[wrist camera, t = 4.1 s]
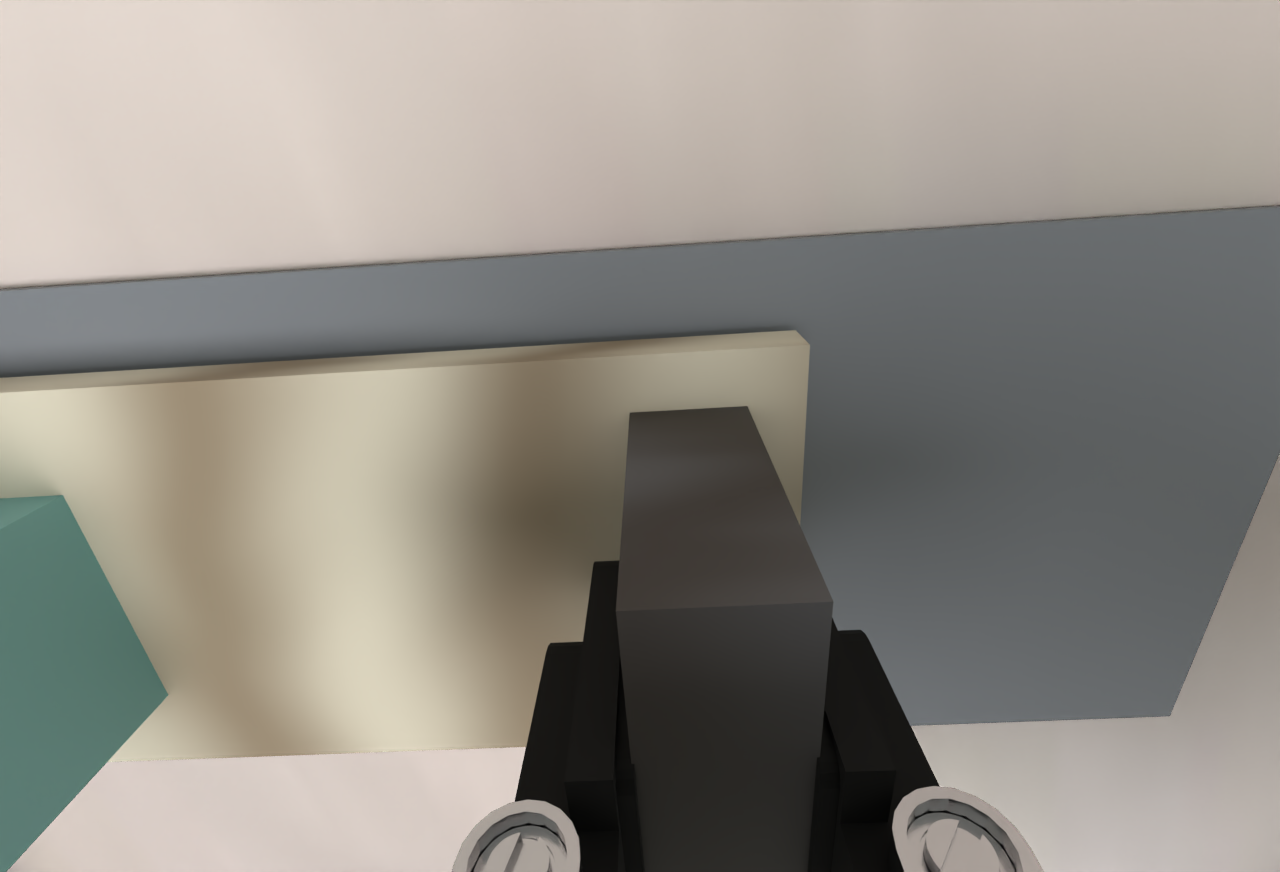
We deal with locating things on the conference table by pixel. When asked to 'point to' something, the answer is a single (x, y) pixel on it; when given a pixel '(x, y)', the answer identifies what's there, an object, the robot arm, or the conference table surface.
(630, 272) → the mat
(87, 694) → the cube
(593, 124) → the conference table surface
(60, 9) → the conference table surface
